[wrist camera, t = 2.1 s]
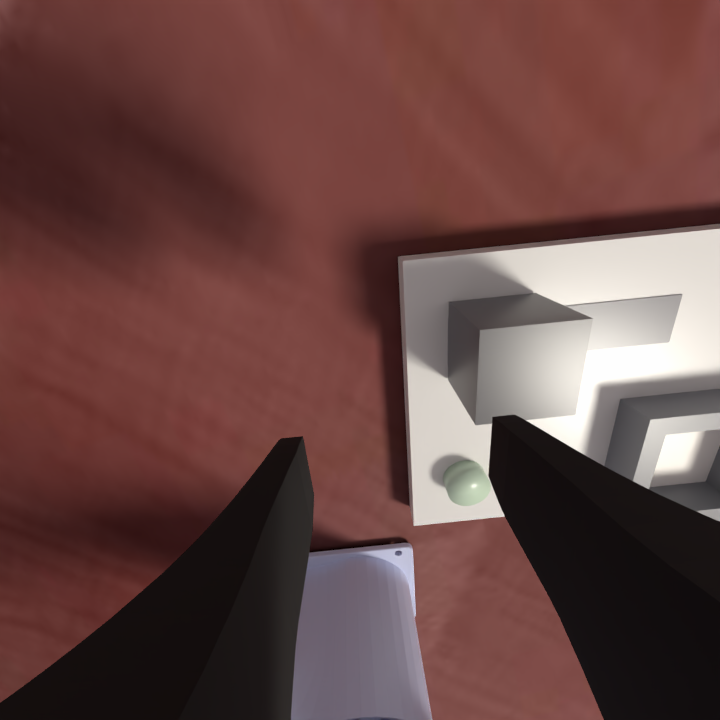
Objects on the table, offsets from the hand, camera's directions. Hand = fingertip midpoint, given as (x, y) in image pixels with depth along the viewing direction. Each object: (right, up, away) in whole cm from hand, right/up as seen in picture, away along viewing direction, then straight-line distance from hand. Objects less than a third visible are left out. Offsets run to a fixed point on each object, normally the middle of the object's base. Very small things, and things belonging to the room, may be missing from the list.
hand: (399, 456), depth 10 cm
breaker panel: (+11, +1, +10) cm, 15 cm away
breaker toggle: (+5, +4, +7) cm, 10 cm away
